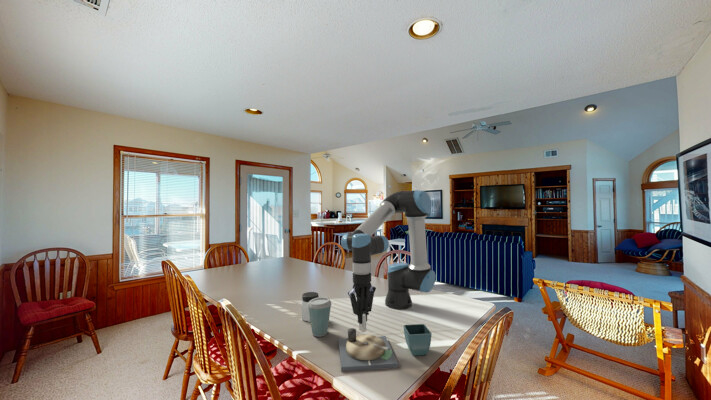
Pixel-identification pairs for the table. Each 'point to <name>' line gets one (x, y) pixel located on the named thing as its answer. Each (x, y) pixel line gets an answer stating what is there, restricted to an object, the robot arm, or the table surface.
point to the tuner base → (356, 364)
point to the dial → (364, 346)
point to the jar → (305, 299)
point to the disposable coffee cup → (319, 315)
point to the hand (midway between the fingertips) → (362, 330)
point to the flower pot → (417, 338)
